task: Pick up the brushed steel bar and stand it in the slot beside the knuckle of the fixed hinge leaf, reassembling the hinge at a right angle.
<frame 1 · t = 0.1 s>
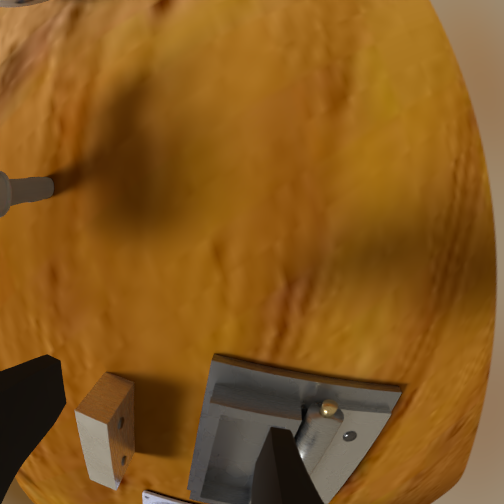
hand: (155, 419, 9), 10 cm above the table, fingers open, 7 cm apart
fixed leaf: (280, 450, 21), on the table
mechanical component: (47, 188, 18), on the table
brushed steel bar: (121, 415, 22), on the table
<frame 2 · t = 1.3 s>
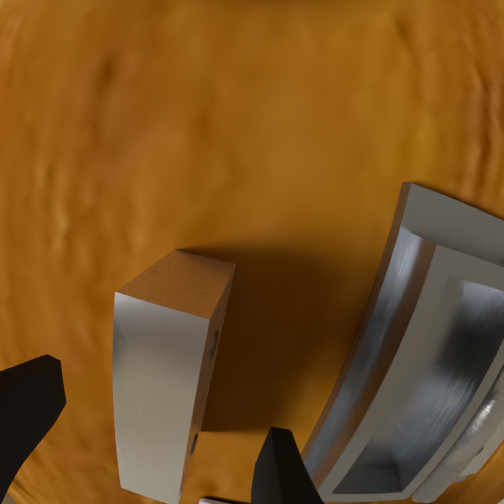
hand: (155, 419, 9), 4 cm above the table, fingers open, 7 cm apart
fixed leaf: (454, 382, 12), on the table
brushed steel bar: (188, 354, 13), on the table
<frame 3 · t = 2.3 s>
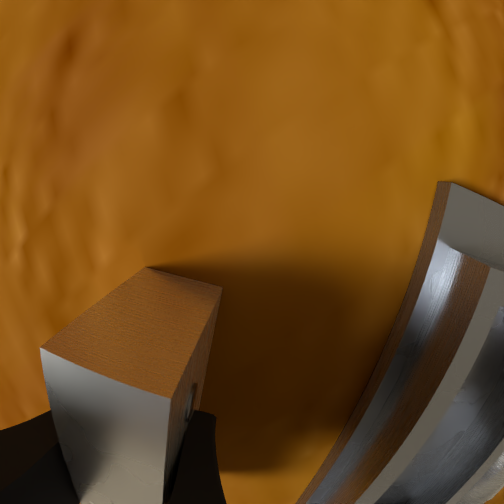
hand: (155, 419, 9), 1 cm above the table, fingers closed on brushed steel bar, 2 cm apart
fixed leaf: (479, 413, 10), on the table
brushed steel bar: (167, 393, 10), on the table, touching gripper
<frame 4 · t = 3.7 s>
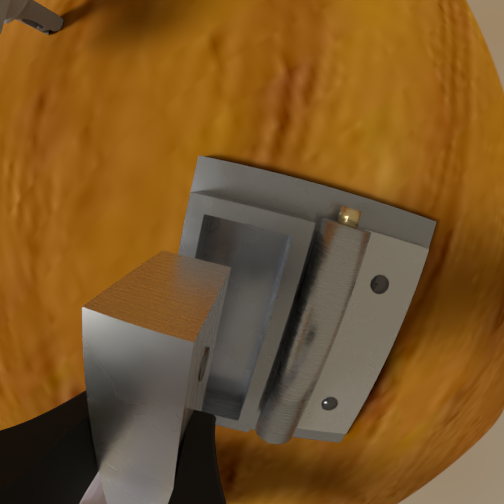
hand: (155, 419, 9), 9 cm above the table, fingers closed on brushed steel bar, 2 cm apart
fixed leaf: (284, 325, 18), on the table
mechanical component: (56, 27, 14), on the table
brushed steel bar: (178, 367, 12), point 6 cm above the table, touching gripper
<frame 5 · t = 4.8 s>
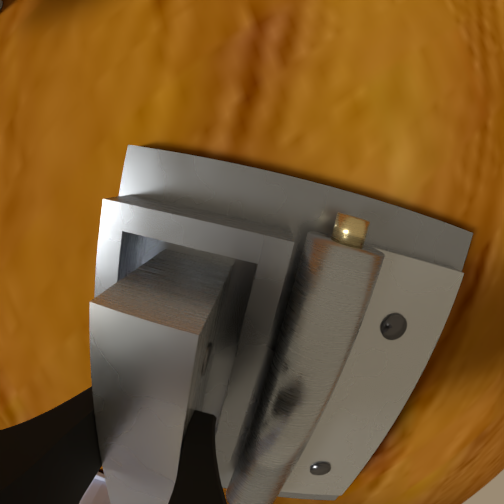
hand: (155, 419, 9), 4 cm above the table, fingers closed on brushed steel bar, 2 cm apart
fixed leaf: (259, 376, 13), on the table
brushed steel bar: (180, 364, 12), point 1 cm above the table, touching fixed leaf, gripper
when the fingers open (3 cm above the table, at t = 5.2 s): brushed steel bar stays where it is, resting on fixed leaf.
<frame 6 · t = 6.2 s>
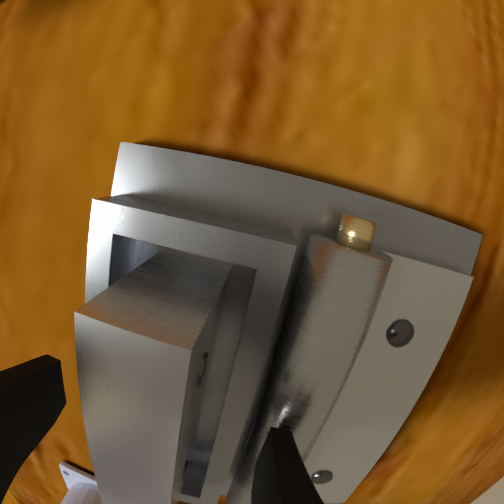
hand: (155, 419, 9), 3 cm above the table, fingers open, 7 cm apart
fixed leaf: (259, 383, 12), on the table
brushed steel bar: (176, 371, 11), point 1 cm above the table, touching fixed leaf
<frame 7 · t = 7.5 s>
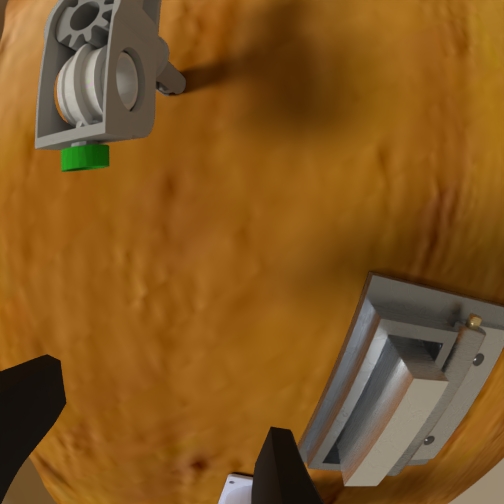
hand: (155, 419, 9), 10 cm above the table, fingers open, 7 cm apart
fixed leaf: (407, 391, 19), on the table
mechanical component: (174, 86, 16), on the table
brushed steel bar: (374, 392, 19), point 1 cm above the table, touching fixed leaf
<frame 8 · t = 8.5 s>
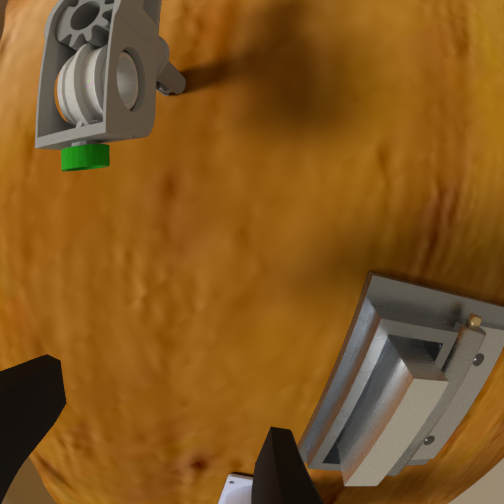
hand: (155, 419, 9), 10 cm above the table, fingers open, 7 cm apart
fixed leaf: (407, 391, 19), on the table
mechanical component: (174, 86, 16), on the table
brushed steel bar: (374, 392, 19), point 1 cm above the table, touching fixed leaf
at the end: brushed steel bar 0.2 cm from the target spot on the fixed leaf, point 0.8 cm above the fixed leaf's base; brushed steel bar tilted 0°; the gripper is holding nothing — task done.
